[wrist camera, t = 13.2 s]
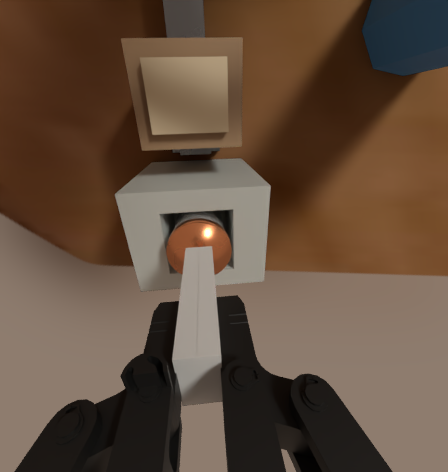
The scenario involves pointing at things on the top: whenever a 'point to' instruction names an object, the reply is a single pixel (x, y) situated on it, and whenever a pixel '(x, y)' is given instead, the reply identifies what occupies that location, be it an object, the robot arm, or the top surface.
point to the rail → (185, 26)
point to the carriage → (186, 91)
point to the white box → (194, 200)
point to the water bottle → (407, 35)
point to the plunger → (199, 238)
